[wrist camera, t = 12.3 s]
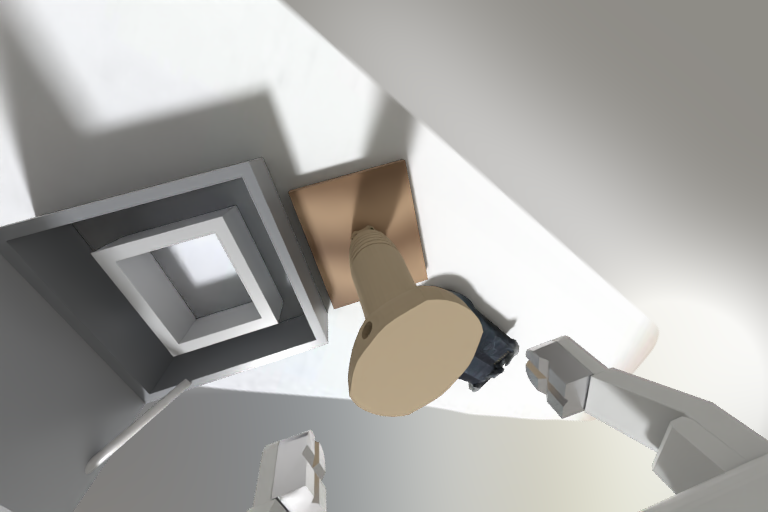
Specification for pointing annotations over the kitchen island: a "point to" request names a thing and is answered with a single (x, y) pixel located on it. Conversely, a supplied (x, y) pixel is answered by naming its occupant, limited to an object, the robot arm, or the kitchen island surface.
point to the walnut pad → (358, 222)
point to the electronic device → (488, 351)
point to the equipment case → (127, 331)
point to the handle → (404, 332)
